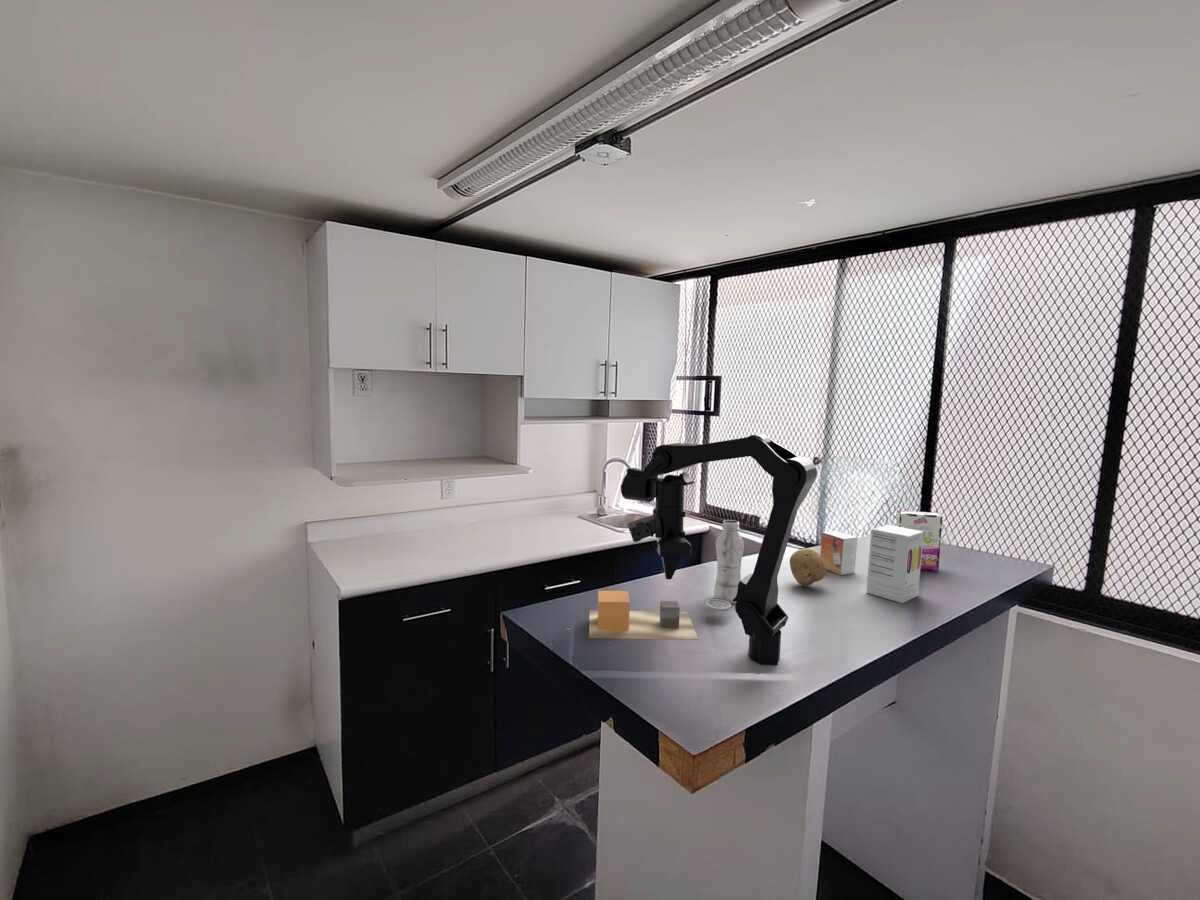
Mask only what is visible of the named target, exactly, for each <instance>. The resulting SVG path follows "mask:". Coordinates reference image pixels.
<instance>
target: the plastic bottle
mask: <svg viewBox="0 0 1200 900" xmlns="http://www.w3.org/2000/svg"><path fill="white" fill-rule="evenodd" d="M721 528H722V530H723V531H721V533H720V534H719V535H718V536H717V537H716V540H715V550H716V563H717V566H716V578H715V583H714V587H713V597H714V598H713V599H719V600H724V601H727V602H729V603H730V604H731V605H735V604H736V602H737V601H735V602H734V601H733V599H734V598H735V597H736V595H737V590H738V584H739V581H741V580H742V578H741V577H742V576H741V567H742V560H743V559H742V558H743V556H744V555H743V553H744V547H745V542H744V539H743V538H742V536H741V534H740V533H739V531H740V521H739V520H738V521H737V520H733V519H725V520H723V521H722V527H721Z"/></svg>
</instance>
